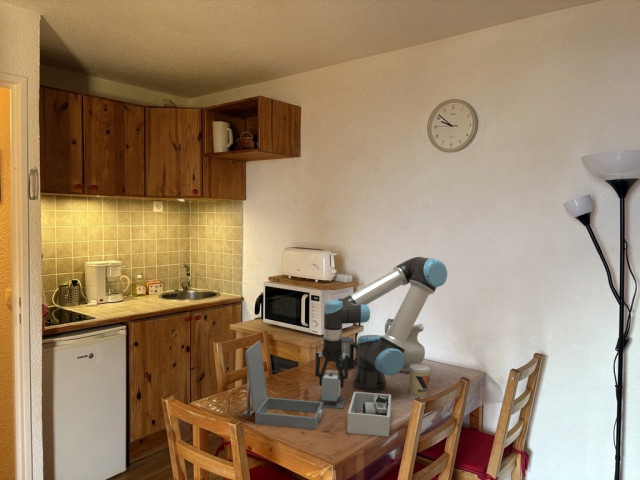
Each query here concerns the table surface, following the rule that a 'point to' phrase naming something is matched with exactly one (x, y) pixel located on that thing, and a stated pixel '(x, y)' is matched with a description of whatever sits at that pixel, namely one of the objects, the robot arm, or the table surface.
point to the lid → (256, 375)
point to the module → (330, 385)
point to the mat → (333, 403)
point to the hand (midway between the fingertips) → (331, 394)
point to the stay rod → (248, 401)
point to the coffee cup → (419, 379)
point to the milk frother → (348, 348)
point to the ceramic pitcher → (411, 346)
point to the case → (289, 419)
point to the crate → (367, 416)
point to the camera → (376, 406)
